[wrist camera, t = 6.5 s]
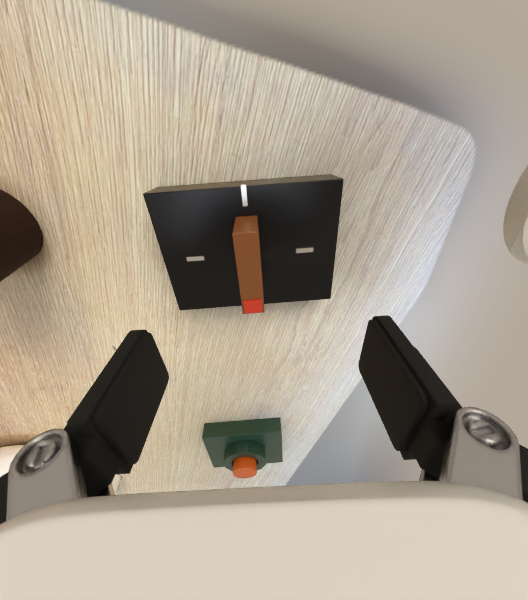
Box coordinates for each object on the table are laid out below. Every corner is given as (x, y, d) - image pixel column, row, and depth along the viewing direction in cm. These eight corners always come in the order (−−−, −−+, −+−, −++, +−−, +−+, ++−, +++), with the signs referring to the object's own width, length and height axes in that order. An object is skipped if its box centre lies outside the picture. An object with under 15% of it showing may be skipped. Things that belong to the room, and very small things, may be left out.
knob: (235, 216, 17) (231, 234, 14) (257, 215, 17) (258, 232, 14) (244, 287, 21) (242, 316, 17) (262, 285, 21) (264, 314, 17)
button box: (279, 417, 38) (282, 444, 34) (281, 448, 43) (283, 474, 40) (204, 423, 37) (199, 450, 34) (215, 453, 43) (212, 479, 40)
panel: (331, 172, 19) (344, 177, 16) (322, 284, 24) (330, 300, 22) (156, 185, 19) (141, 192, 16) (187, 294, 24) (179, 312, 22)
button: (255, 454, 36) (255, 467, 35) (257, 464, 38) (257, 477, 37) (232, 455, 36) (231, 468, 35) (235, 466, 38) (234, 479, 37)
